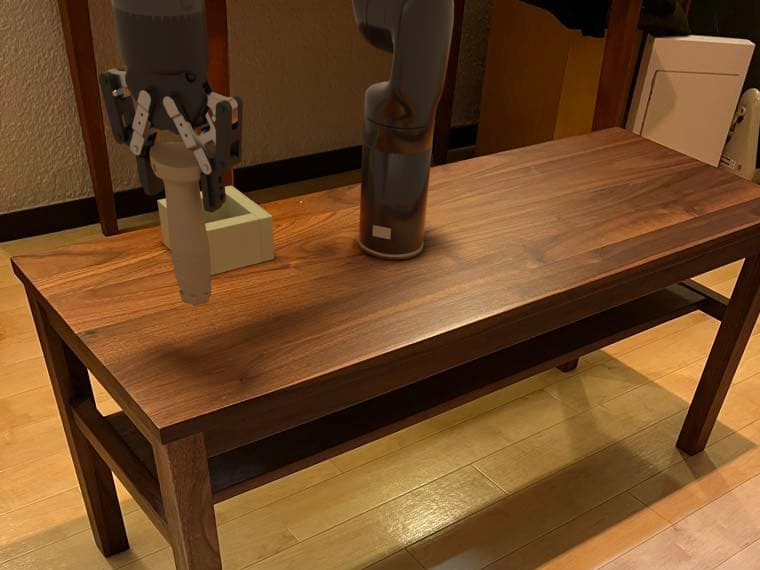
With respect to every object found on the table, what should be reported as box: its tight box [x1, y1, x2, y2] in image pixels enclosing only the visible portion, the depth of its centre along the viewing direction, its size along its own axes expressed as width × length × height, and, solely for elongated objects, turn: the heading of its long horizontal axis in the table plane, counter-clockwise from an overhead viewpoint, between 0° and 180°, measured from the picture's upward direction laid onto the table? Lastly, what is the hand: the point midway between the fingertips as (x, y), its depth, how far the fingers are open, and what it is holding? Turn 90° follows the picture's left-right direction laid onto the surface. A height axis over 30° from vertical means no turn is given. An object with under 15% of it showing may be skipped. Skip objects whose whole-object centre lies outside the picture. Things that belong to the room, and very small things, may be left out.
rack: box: [157, 185, 275, 276], centre depth 107 cm, size 11×11×6 cm
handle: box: [150, 141, 212, 307], centre depth 81 cm, size 5×6×15 cm
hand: (183, 200), depth 78 cm, fingers closed on handle, 6 cm apart
